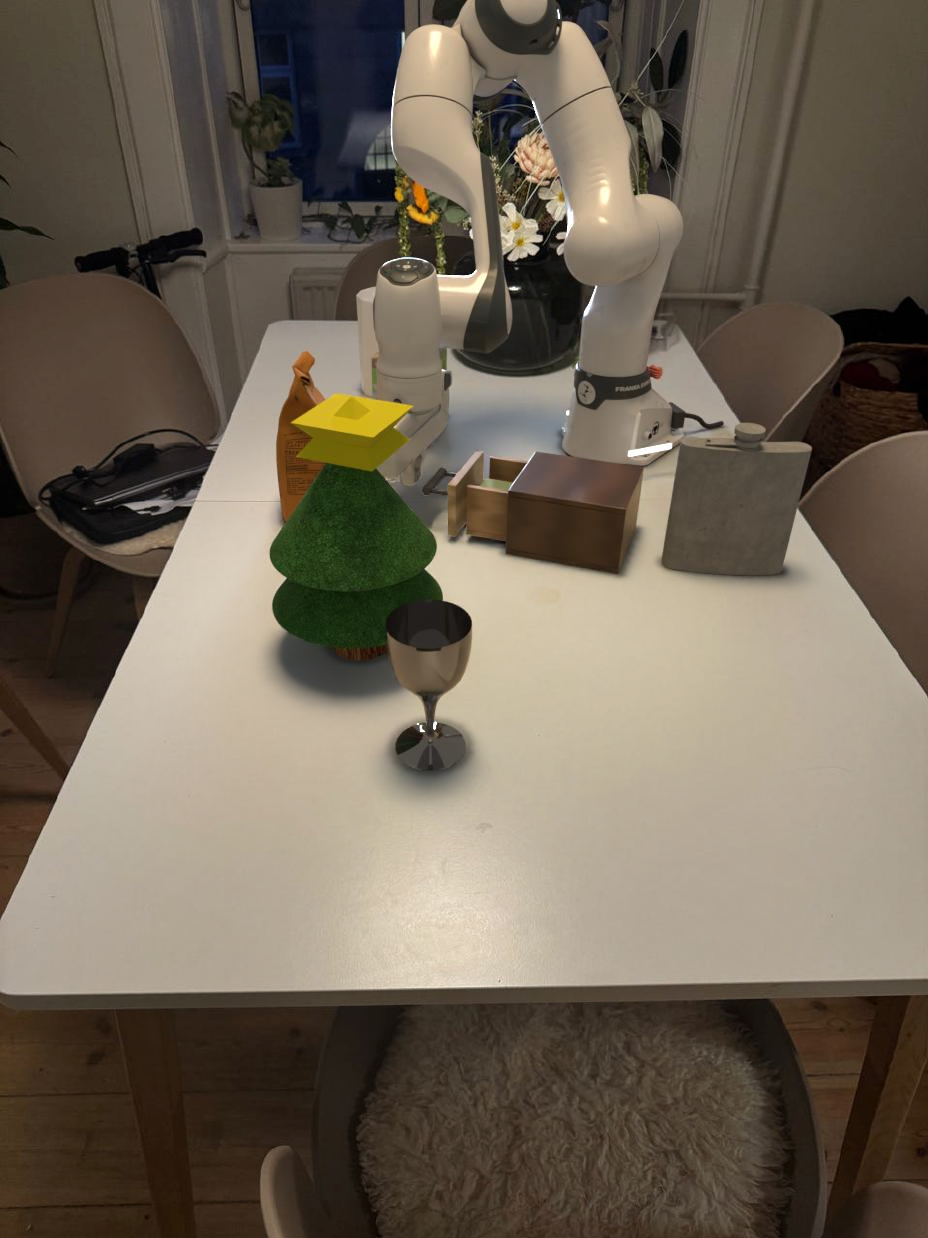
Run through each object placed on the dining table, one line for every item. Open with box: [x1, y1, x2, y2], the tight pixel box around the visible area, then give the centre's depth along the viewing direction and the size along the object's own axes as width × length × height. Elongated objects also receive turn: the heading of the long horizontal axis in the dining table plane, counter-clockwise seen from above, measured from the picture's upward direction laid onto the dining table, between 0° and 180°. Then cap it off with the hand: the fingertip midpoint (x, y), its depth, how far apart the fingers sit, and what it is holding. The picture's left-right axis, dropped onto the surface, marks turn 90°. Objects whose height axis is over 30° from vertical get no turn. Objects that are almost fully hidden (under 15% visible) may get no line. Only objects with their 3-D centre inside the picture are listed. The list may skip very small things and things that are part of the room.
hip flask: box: [660, 422, 813, 576], centre depth 112 cm, size 16×4×20 cm, turn 85°
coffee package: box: [275, 350, 327, 522], centre depth 125 cm, size 10×12×22 cm
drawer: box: [420, 450, 529, 542], centre depth 124 cm, size 19×12×8 cm, turn 71°
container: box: [355, 286, 379, 398], centre depth 169 cm, size 14×14×18 cm
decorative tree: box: [268, 392, 444, 662], centre depth 94 cm, size 19×19×30 cm
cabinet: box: [505, 450, 645, 575], centre depth 121 cm, size 16×14×10 cm
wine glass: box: [385, 599, 473, 772], centre depth 84 cm, size 8×8×15 cm
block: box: [480, 477, 513, 491], centre depth 124 cm, size 4×4×4 cm
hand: (412, 481), depth 127 cm, fingers closed
